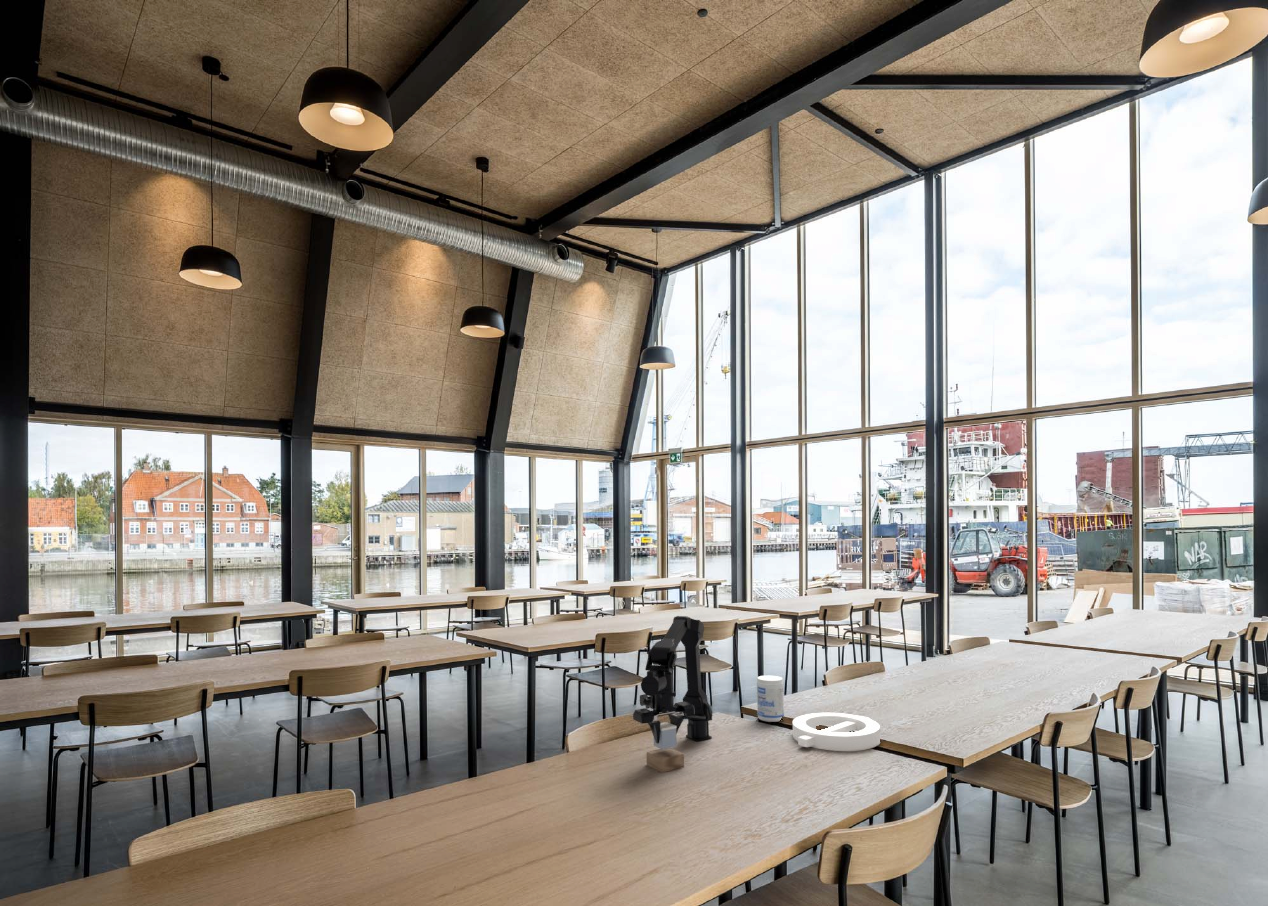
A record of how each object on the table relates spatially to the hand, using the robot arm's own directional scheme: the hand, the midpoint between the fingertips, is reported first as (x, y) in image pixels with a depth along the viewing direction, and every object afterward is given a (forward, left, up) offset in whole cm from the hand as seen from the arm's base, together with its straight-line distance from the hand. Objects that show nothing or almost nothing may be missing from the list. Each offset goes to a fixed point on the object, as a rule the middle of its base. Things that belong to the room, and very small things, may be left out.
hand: (664, 741), depth 212 cm
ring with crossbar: (-62, +8, -8) cm, 63 cm away
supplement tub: (-59, -21, -7) cm, 63 cm away
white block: (0, 0, -1) cm, 1 cm away
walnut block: (0, 0, -7) cm, 7 cm away
